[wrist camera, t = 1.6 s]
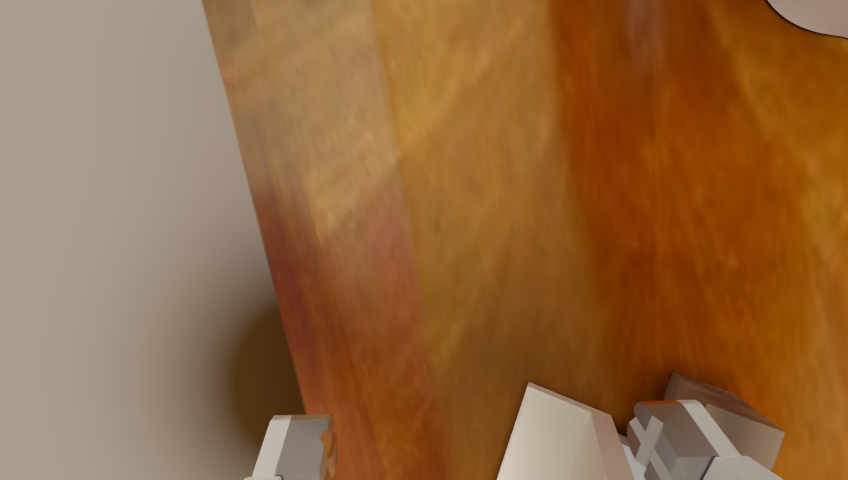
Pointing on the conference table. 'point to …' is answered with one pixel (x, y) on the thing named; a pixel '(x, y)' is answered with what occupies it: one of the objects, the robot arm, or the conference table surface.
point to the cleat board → (565, 442)
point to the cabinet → (731, 418)
